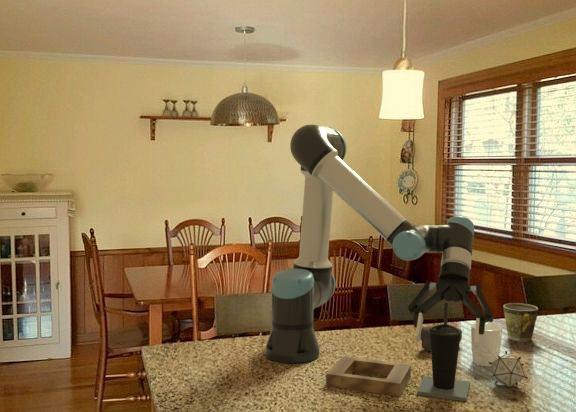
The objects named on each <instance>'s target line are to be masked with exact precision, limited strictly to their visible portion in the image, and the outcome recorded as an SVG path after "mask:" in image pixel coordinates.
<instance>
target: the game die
mask: <svg viewBox="0 0 576 412" xmlns="http://www.w3.org/2000/svg"><path fill="white" fill-rule="evenodd" d="M521 359H522V356H518V357H515V356H513V355H511V354H509V353H508V351H507V350H505V352H504V354H502V355H501V356H500V355H499V356H498V359H497V360H495V361H494V362H492V363H491V362H488V363H489V364H491V365H492V367H491V369H492V373H493V374H491V378H495V379H496V380H495V381H494V384H498V383H500V384H501V385H504V386H505V387H508V390H509V391H511V390H512V388H511V387H513V386H514V385H518V383H519V382H520V381H522V380H523V379H526V380H528V379H529V377H528V376H526V375H525V371H524V369H523V366H524V365H525V363H523V362H521V361H520V360H521Z"/></svg>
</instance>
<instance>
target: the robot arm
mask: <svg viewBox="0 0 576 412" xmlns="http://www.w3.org/2000/svg"><path fill="white" fill-rule="evenodd" d="M289 144H290V147H289V148H290V149H289V150H290V153H291V155H292V157H293V159H294V161H296V162H297V163H298V164H299V165H300V173H302V175H303V176H304V187H303V188H304V189H303V200H302V201H303V203H302V212H301V213H302V214H301V217H302V218H301V226H300V227H301V229H300V230H301V231H300V240H299V241H300V242H299V253H298V255H299V256H298V257H297V258H296V259H295V260H294V261H293V266H292V267H293V268H289V269H284V270H281V271H278V272H276V273H275V274H273V276H272V279H271V287H270V288H271V290H270V291H271V329H270V333H269V335H268V338H267V341H266V346H265V356H266V357H267V358H268V359H269V360H272V361H274V362H278V363H284V364H285V363H286V364H301V363H308V362H312V361H315V360H317V359H318V358H319V356H320V344H319V342H318V340H317V336H316V333H315V329H314V310H315V309H317V308H318V307H321V306H324V305H325V304H326V303H328V301H329V300H330V299H331V298H332V297H333V295H334V292H335V289H336V279H335V276H334V274H333V263H332V262H331V261H330V260H329V258H328V257H329V248H330V236H331V235H330V234H331V221H332V212H333V211H332V210H333V200H334V199H333V196H334V193H335V194H336V195H337V196H338V197H340V199H341V200H342V201H343V202H344V203H346V205H348V206H349V207H350V208H351V209H352V210H353V211H354V212H356V214H358V216H360V217H361V218H362V220H364V221H365V222H366V223H367V224H368V225H369V226H371V228H373V229H374V230H375V231H376V232H377V233H378V234H379V235H380V236H381V237H382V238H383V239H384V240H385V241H386V242H387V243H388V244H389V245H390V246H392V251H393V252H394V255H395V256H396V257H397V258H398V259H400V260H402V261H414V260H417V259H419V258H421V257H422V256H423V255H424V254H426V253H440V254H441V253H442V255H441V261H440V269H439V275H438V281H437V282H432V281H431V280H429V279H426V280H425V283H424V286H423V287H422V288H421V290H420V291H419V292H418V293H417V295H416V296H415V297H414V299H412V301H411V302H410V304H409V305H408V307H407V308H408V310H407V311H408V313H409V314H410V315H413V327H414V328H415V340H416V342H419V343H420V342H421V339H420V337H421V330H422V327H423V322H424V316H423V315H424V314H425V313H427V312H428V311H429V310H431V309H432V308H433V307H435V306H436V305H437V304H439V303H441V302H442V301H445V302H455V303H459V302H460V301H461V303H463V304H464V305H465V306H466V307H467V309H468V310H469V311H470V312H471V313H472V314H473V316H474V317H475V318H476V319H475V323H476V328H475V338H474V346H475V348H478V343H479V334H482V335H483V334H484V331H485V323H493V322H494V313H493V312H492V310H491V308H490V306H489V304H488V302H487V300H486V297H485V295H484V293H483V292H482V291H483V290H482V284H481V283H476V284H475V285H471V284H470V276H471V269H472V259H473V250H474V248H473V247H474V243H475V242H474V241H475V225H474V223H473V221H472V220H471V219H470V218H468V217H466V216H462V215H455V216H454V217H450V218H449V219H448V220H447V221H446V224H439V225H437V224H435V225H434V224H432V225H429V224H415V223H414V224H413V223H411V222H409V220H407V218H405V216H403V215H402V214H401V213H400V212H399V211H397V209H395V207H394V206H392V204H390V203H389V202H388V201H387V200H386V199H385V198H384V197H383V196H382V195H381V194H380V193H378V192H377V191H376V190H375V189H374V188H373V187H372V186H370V185H369V184H368V183H367V182H366V181H365V180H364V179H363V178H362V177H361V176H360V175H359V174H357V172H355V171H354V170H353V169H352V168H351V167H350V166H349V165H348V164H347V163H346V162H344V159H345V157H346V154H347V147H348V146H347V142H346V139H345V138H344V136H343V134H342V133H340V131H338V130H336V129H335V128H333V127H331V126H326V125H317V124H305V125H303V126H301V127H299V128H298V129H296V130H295V132H294V133H293V135H292V136H291V140H290V143H289ZM434 289H436V291H435V292H434V294H433V295H431V296H430V297H429V298H427V297H428V296H429V295H430V292H431V293H432V292H433V291H434ZM471 292H472V293H473V295H474V296H476V299H477V301H478V303H479V305H480V307H481V309H482V310H481V309H480V307H478V306H477V304H475V302H474V301H473V300H472V299H471V298H470V297H469V294H470V293H471Z"/></svg>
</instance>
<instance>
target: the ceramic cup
mask: <svg viewBox="0 0 576 412" xmlns="http://www.w3.org/2000/svg"><path fill="white" fill-rule="evenodd" d="M502 309H503V314H504V320H505V327H506V334H507V337H508V339H510V341H515V342H520V343H521V342H522V343H528V342H530V341H532V340H533V337H534V336H533V335H534V330H535V327H536V321H537V318H538V314H539V313H538V312H539V308H538V307H537V306H536V305H533V304H529V303H522V302H521V303H519V302H513V303H512V302H510V303H509V302H508V303H505V304H503V308H502Z"/></svg>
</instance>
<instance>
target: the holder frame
mask: <svg viewBox="0 0 576 412" xmlns="http://www.w3.org/2000/svg"><path fill="white" fill-rule="evenodd" d="M354 372H356V373H362V374H369V375H370V374H372V375H379V376H387V377H386V378H380V377H374V376H373V377H372V376H365V375H358V374H354ZM411 375H412V364H407V363H398V362H391V361H382V360H373V359H366V358H365V359H364V358H358V357H350V356H341V357H340V358H339V360H338V361H337V362H335V363H334V365H333V366H331V368H330V369H328V371H327V372H326V373H325V386H327V387H331V386H332V387H333V388H338V387H339V388H338V389H345V388H346V389H347V390H353V391H360V392H366V391H367V392H368V393H375V394H382V395H386V396H387V395H388V396H395V397H401V395H402V393H403V392H404V390H405V388H406V386H407V384H408V382H409V381H410V379H411V377H412V376H411Z"/></svg>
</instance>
